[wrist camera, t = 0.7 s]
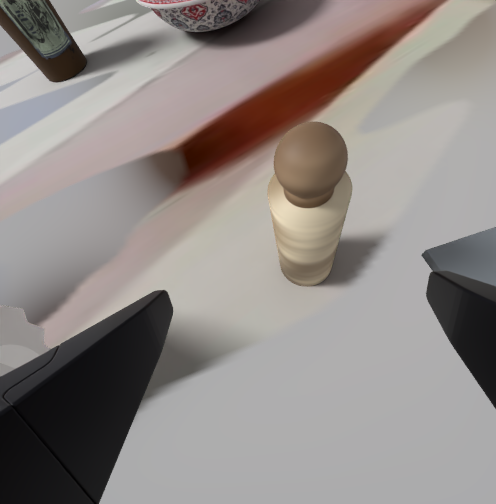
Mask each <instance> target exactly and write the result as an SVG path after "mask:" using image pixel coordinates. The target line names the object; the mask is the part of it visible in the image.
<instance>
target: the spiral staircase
mask: <svg viewBox="0 0 496 504" xmlns="http://www.w3.org/2000/svg"><path fill="white" fill-rule="evenodd" d="M49 350H51V349H50V348H49V347H47V346H46V345H45V344H44V328H42V327H39V326H36V325H33V324H31V323H28V322H27V319H26V316H25V313H24V310H23V309H22V308H16V307H9V306H2V305H0V377H1V376H3V375H4V374H6V373H8V372H10V371H12V370H14V369H16V368H18V367H20V366H22V365H23V364H25V363H27V362H29V361H31V360H33V359H34V358H36V357H38V356H40V355H42V354H44V353H45V352H47V351H49Z"/></svg>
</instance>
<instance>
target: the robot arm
mask: <svg viewBox="0 0 496 504" xmlns="http://www.w3.org/2000/svg"><path fill="white" fill-rule="evenodd" d="M426 296H427V300H428V302H429V304H430V306H431V307H432V309H433V311H434V313H435V315H436V317H437V319H438V321H439V323H440V324H441V326H442V328H443V330H444V332H445V334H446V336H447V337H448V339H449V341H450V342H451V344H452V345H453V347H454V349H455V350H456V351H457V353H458V355H459V356H460V357H461V359H462V360H463V362H464V363H465V365H466V366H467V368H468V369H469V370H470V372H471V373H472V375H473V376H474V378H475V379H476V381H477V382H478V384H479V385H480V387H481V388H482V389H483V391H484V392H485V394H486V395H487V397H488V398H489V400H490V401H491V403H492V404H493V406H494V407H495V408H496V286H494V285H491V284H488V283H485V282H482V281H478V280H475V279H472V278H469V277H466V276H463V275H460V274H457V273H454V272H451V271H447V270H442V271H433V272H431V273H430V276H429V281H428V286H427V293H426ZM172 316H173V307H172V304H171V301H170V298H169V295H168V292H167V291H165V290H157V291H154V292H152V293H150V294H148V295H147V296H145V297H143V298H141V299H139V300H138V301H136V302H134V303H132V304H131V305H129V306H127V307H125V308H123V309H122V310H120V311H118V312H116V313H115V314H113V315H111V316H109V317H108V318H106V319H104V320H102V321H100V322H99V323H97V324H95V325H93V326H92V327H90V328H88V329H86V330H84V331H83V332H81V333H79V334H77V335H76V336H74V337H72V338H70V339H69V340H67V341H65V342H63V343H61V344H60V346H59V345H58V346H56V347H54V348H52V349H51V350H49V351H47V352H45V353H44V354H42V355H40V356H38V357H36V358H34V359H33V360H31V361H29V362H27V363H25V364H23V365H22V366H20V367H18V368H16V369H14V370H12V371H10V372H8V373H6V374H4V375H3V376H1V377H0V504H99V502H100V499H101V497H102V494H103V492H104V490H105V487H106V485H107V482H108V480H109V478H110V475H111V473H112V470H113V468H114V466H115V463H116V461H117V458H118V456H119V454H120V451H121V449H122V446H123V444H124V441H125V439H126V437H127V434H128V432H129V429H130V427H131V425H132V422H133V420H134V417H135V415H136V412H137V410H138V408H139V405H140V403H141V400H142V398H143V396H144V393H145V391H146V388H147V386H148V383H149V381H150V379H151V376H152V374H153V371H154V369H155V367H156V364H157V362H158V359H159V357H160V354H161V352H162V349H163V346H164V343H165V339H166V336H167V333H168V329H169V326H170V322H171V319H172Z"/></svg>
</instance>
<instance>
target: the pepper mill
mask: <svg viewBox="0 0 496 504" xmlns="http://www.w3.org/2000/svg"><path fill="white" fill-rule="evenodd" d="M347 160H348V154H347V148H346V144H345V142H344V140H343V138H342V136H341V135H340V134H339V133H338V131H336V130H335V129H334V128H333V127H331V126H329V125H327V124H324V123H321V122H307V123H303V124H300V125H298V126H296V127H294V128H292V129H291V130H290V131H289V132H287V133H286V134H285V135H284V137H283V138H282V139H281V141H280V142H279V144H278V146H277V149H276V152H275V156H274V170H275V174H274V175H273V177H272V178H271V180H270V182H269V185H268V200H269V205H270V211H271V216H272V222H273V227H274V233H275V238H276V244H277V249H278V255H279V261H280V266H281V270H282V272H283V274H284V276H285V277H286V278H287V279H288V280H289V281H291V282H292V283H294V284H296V285H300V286H313V285H317V284H319V283H321V282H322V281H324V280H325V279H326V278H327V277H328V275H329V273H330V271H331V268H332V265H333V261H334V257H335V254H336V250H337V246H338V243H339V239H340V235H341V232H342V228H343V224H344V221H345V217H346V213H347V210H348V206H349V203H350V199H351V195H352V182H351V179H350V177H349V175H348V174H347V173H346V171H345V170H346V166H347Z"/></svg>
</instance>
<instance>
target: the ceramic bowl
mask: <svg viewBox="0 0 496 504" xmlns="http://www.w3.org/2000/svg"><path fill="white" fill-rule="evenodd" d="M136 1H137V3H139V4H140V5H142V6H144V7H148V8H151V9H152V10H153V11H154V12H155V13H156V14H157V15H158V16H159V17H160V18H161V19H162V20H164V21H165V22H167V23H168V24H170V25H172V26H174V27H176V28H178V29H181V30H184V31H189V32H205V31H211V30H216V29H219V28H222V27H225V26H228V25H230V24H232V23H234V22H236V21H238V20H239V19H241V18H243V17H244V16H245V15H247V14H248V13H249V12H250V11H251V10H252V9H253V8H254V7H255V6H256V5H257V4H258V2H259V1H260V0H136Z"/></svg>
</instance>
